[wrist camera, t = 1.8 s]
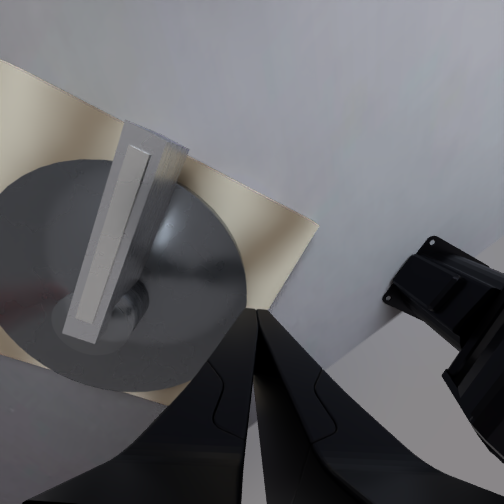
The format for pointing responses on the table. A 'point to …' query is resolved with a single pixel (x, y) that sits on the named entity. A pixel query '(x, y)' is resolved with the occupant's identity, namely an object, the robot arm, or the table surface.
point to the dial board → (192, 175)
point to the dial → (117, 268)
